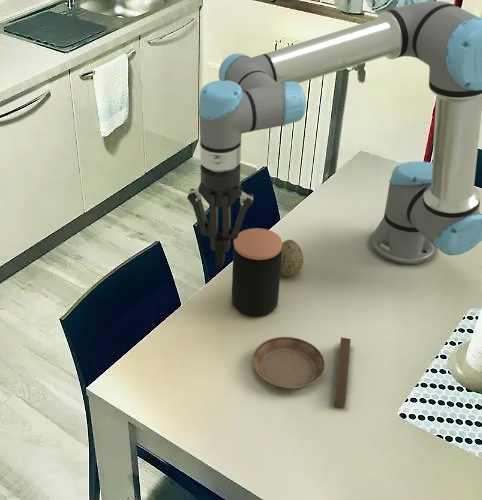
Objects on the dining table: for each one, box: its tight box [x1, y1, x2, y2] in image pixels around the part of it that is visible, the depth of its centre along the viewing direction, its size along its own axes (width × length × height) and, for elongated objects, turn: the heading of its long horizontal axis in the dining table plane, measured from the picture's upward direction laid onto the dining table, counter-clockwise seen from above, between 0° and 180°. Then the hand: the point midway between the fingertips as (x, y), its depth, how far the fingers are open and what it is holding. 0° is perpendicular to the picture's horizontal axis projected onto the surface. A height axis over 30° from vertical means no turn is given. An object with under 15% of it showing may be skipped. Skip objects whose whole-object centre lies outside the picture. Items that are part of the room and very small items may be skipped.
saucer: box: [252, 336, 326, 390], centre depth 151 cm, size 15×15×3 cm
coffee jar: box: [231, 227, 283, 318], centre depth 163 cm, size 11×11×18 cm
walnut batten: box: [333, 336, 352, 409], centre depth 148 cm, size 2×17×3 cm, turn 164°
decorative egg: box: [280, 239, 305, 277], centre depth 174 cm, size 7×7×10 cm
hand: (220, 262), depth 150 cm, fingers closed
